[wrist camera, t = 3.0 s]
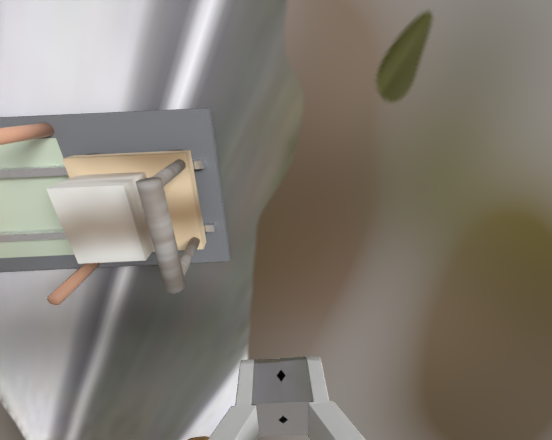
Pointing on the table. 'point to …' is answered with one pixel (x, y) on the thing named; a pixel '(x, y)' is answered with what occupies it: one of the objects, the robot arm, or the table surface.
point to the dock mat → (133, 139)
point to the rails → (57, 171)
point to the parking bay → (34, 200)
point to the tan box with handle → (132, 210)
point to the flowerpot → (200, 438)
